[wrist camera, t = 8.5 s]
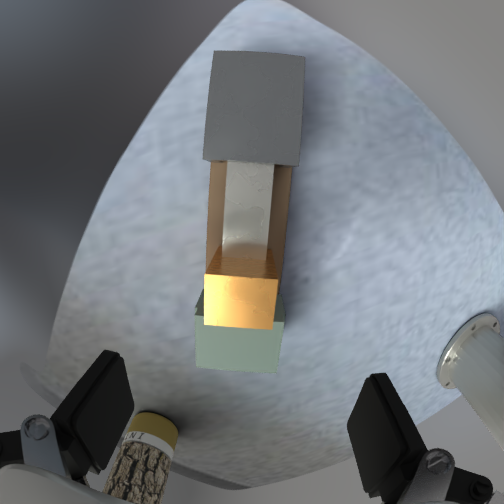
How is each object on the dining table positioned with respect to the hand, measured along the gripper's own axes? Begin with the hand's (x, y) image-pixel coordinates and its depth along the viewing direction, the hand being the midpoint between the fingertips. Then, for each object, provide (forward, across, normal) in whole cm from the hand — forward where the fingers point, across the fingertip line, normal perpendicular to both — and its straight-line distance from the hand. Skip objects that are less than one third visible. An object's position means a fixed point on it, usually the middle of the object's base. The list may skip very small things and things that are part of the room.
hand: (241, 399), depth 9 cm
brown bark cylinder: (+17, +12, +25) cm, 32 cm away
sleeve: (+15, +1, -13) cm, 20 cm away
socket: (+15, +1, +5) cm, 16 cm away
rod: (+15, +1, -2) cm, 15 cm away
